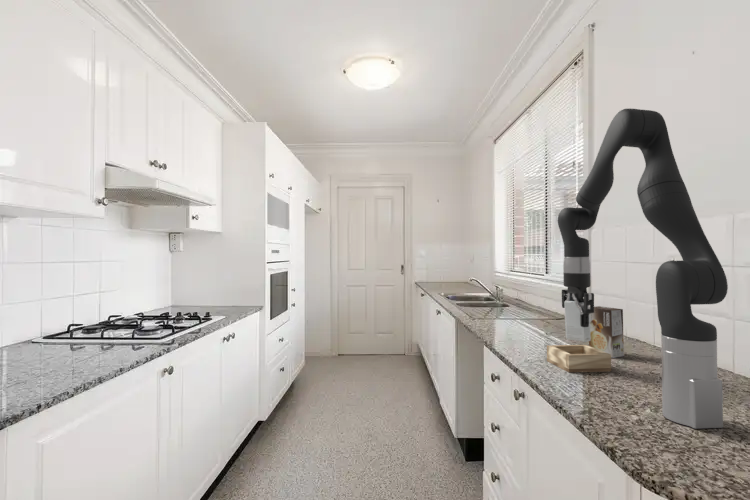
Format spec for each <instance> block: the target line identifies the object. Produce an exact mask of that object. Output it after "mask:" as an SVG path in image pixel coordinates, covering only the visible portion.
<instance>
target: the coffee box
mask: <svg viewBox="0 0 750 500" xmlns="http://www.w3.org/2000/svg"><path fill="white" fill-rule="evenodd" d="M589 309H590V306H589ZM590 336H591V340H590V341H588V346H590V347H593V348H595V349H598V350H601V351H603V352H606V353H609V354H611V359H613V358H614V359H615V358H621V357H624V356H625V352H624V351H625V350H624V349H625V347H624V342H625V341H624V309H623V308H614V307H608V306H600V305H599V306H594V313H591V314H590Z"/></svg>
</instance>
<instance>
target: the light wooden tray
mask: <svg viewBox="0 0 750 500" xmlns="http://www.w3.org/2000/svg"><path fill="white" fill-rule="evenodd" d="M546 362H548V363H550V364H552V365H554V366H556V367H558V368H559V369H561V370H563V371H565V372H567V373H594V372H595V373H598V372H604V373H605V372H612V358H611V354H609V353H606V352H603V351H601V350H598V349H595V348H593V347H590V346H589V345H587V344H562V345H559V344H555V345H553V344H552V345H551V344H550V345H546Z"/></svg>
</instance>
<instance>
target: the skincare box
mask: <svg viewBox="0 0 750 500" xmlns="http://www.w3.org/2000/svg"><path fill="white" fill-rule="evenodd" d="M580 304H584V302H580ZM564 305H565V308H564V321H565V322H564V324H565V340H568V341H573V342H580V343H581V342H582V343H589V341H590V340H591V336H590V314H589V326H588V327H581V325H580V314H581V313H580V310H579V308H577V306H576V303H575V302H574V301H565V302H564ZM582 308H583V310H584V307H582Z"/></svg>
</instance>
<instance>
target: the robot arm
mask: <svg viewBox="0 0 750 500" xmlns="http://www.w3.org/2000/svg"><path fill="white" fill-rule="evenodd" d="M670 140H671V139H670V136H669V131H668V127H667V124H666V121H665V119H664V117H663V115H662V114H661V113H660V112H659V111H655V110H648V109H639V108H638V109H637V108H624V109H621V110H619V111H618V112H617V113H616V114H615V115H614V116H613V118H612V120H611V121H610V123H609V126H608V127H607V130H606V133H605V134H604V136H603V140H602V143H601V145H600V147H599V150H598V152H597V154H596V158H595V160H594V163H593V166H592V168H591V170H590V172H589V173H588V176H587V177H586V179H585V180H584V182H583V184H582V186H581V187H580V189H579V190H578V193H577V195H576V197H575V202H576V204H578V206H579V207H564V208H562V209H561V210H560V211H559V213H558V216H557V225H558V229H559V232H560V236H561V239H562V242H563V252H564V253H563V255H564V256H563V265H562V267H563V274H562V275H563V286H564V287H565V289H561V307H562V308H563V309H565V305H564V302H565V301H574V302H575V303H576V306H577V308H579V310H580V313H581V314H580V325H581V327H588V326H589V314H591V313H594V307H595V294H594V292H588V290H587V288H590V287H591V282H592V281H591V261H590V242H589V240H588V239H587V238H585V237H582V236H579V235H578V234H577V231H587V230H589V229H591V228H592V227H593V226H594V225H595V223H596V220H597V217H598V214H599V210H600V207H601V204H602V203H603V201H605V199H606V197H607V196H608V194H609V193H610V191H611V190H612V188H613V184H614V180H615V179H614V176H615V175H614V174H615V173H614V161H615V159H616V156H617V154H618V153H619V151H621V149H622V148H623V147H629V148H638V149H639V150H640V151H641V154H642V155H643V159H644V163H645V167H644V170H643V172H642V175H641V177H640V179H639V182H638V184H637V189H636V193H637V198H638V200H639V204H640V207H641V210H642V213H643V216H644V217H645V218H646V220H647V221H648V222H649V223H650V224H651V225H652V226H653V227H654V228H655V229H656V230H657V231H658V232H660V233H661V234H662V235H663V236H664V237H666V238H667V239H668V240H669V241H670V242H671V243H672V245H674V246H675V248H676V249H677V251H678V253H679V254H680V256H681V259H682V260H668V261H665V262H663V263H662V264H660V266H659V268H658V270H657V272H656V274H655V275H656V276H655V294H656V305H657V317H658V322H659V325H660V330H661V331H660V333H661V334H660V335H661V336H660V338H661V395H662V396H661V398H662V403H661V404H662V407H661V408H662V410H661V411H662V413H661V414H662V415H663V417H664V418H665V419H668V420H669V421H672V422H674V423H677V424H680V425H684V426H687V427H691V428H693V429H717V428H718V429H719V428H724V417H723V416H724V413H723V412H724V408H723V405H724V404H723V402H724V401H723V380H722V379H721V378H718V331H717V327H716V326H715V325H714V324H712V323H710V322H706V321H704V320H701V319H699V318H698V317H696V316H695V315H694V314H693V311H692V305H715V304H716V305H717V304H720V303H721V302H723V301H724V299H725V298H726V296H727V294H728V288H729V287H728V279H727V275H726V273H725V270H724V268H723V266H722V264H721V262H720V260H719V257H718V256H717V255H716V252H715V251H714V249H713V248H712V245H711V244H710V241H709V240H708V238H707V236H706V234H705V232H704V229H703V227H702V225H701V223H700V221H699V218H698V217H697V213H696V211H695V207H694V206H693V203H692V200H691V197H690V194H689V192H688V189H687V186H686V184H685V182H684V180H683V177H682V176H681V173H680V169H679V167H678V164H677V162H676V161H677V160H676V157H675V156H674V152H673V148H672V144H671V141H670ZM580 302H584V304H580ZM582 307H584V310H583V308H582ZM589 307H590V309H589Z"/></svg>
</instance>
